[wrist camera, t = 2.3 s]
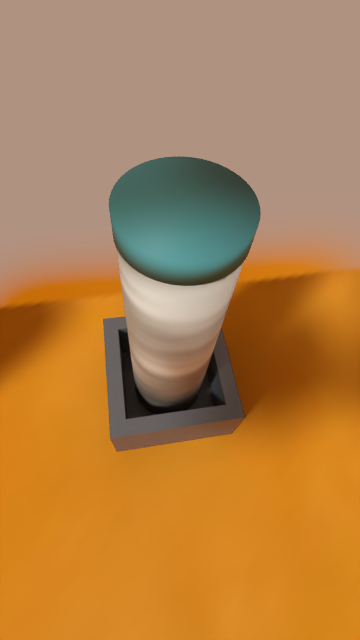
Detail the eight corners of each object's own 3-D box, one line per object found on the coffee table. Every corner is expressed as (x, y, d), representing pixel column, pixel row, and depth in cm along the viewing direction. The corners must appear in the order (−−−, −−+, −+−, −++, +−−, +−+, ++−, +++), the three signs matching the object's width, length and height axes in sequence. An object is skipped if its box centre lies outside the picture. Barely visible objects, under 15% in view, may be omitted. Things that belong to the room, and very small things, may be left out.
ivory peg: (212, 396, 21) (291, 227, 9) (153, 430, 20) (155, 284, 8) (179, 344, 23) (208, 143, 11) (123, 372, 21) (85, 179, 9)
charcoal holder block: (231, 433, 20) (244, 417, 17) (116, 451, 19) (110, 438, 16) (208, 334, 24) (216, 307, 21) (109, 346, 23) (103, 318, 20)
